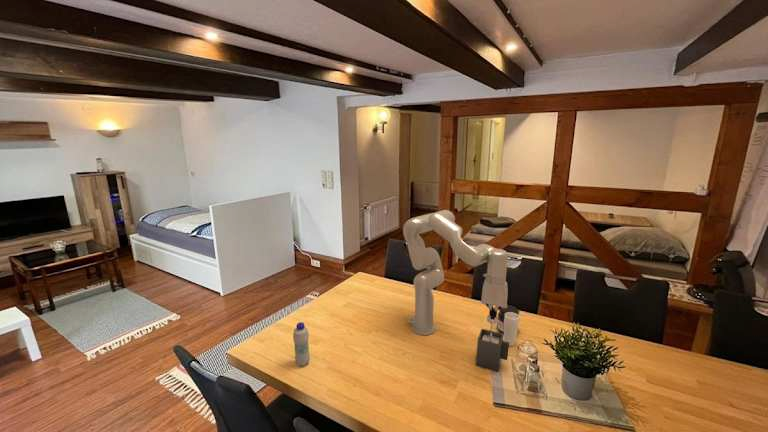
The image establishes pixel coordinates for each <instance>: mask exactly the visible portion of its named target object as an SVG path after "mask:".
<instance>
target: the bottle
mask: <svg viewBox="0 0 768 432" xmlns="http://www.w3.org/2000/svg"><path fill="white" fill-rule="evenodd" d="M309 336H310V333H309V330H308V327H306V326H305V323H304V322H302V321H301V322H297V323H296V327H295V328H294V330H293V336H292V338H293V339H292V340H293V343H294V359H295V360H294V361H295V364H296V366H298V367H302V366H303V367H305V366H306V365H308V364H309V363H310V361H311V360H310V356H311V355H310V350H309V349H310V348H309V339H310V337H309Z"/></svg>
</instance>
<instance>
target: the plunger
mask: <svg viewBox="0 0 768 432" xmlns="http://www.w3.org/2000/svg"><path fill="white" fill-rule="evenodd" d="M490 318H491V316H489V314H488V315H487V316H486V321H487V322H488V323H490V329H489V330H490V335H486V334H484V335H483V338H482V340H484V341H488V342H492V343H496V344H499V340H500V338H499V337H495V336H492V332H493V331H494V324H497V322H498V316H497V317H495V319H493V318H492V319H490Z"/></svg>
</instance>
